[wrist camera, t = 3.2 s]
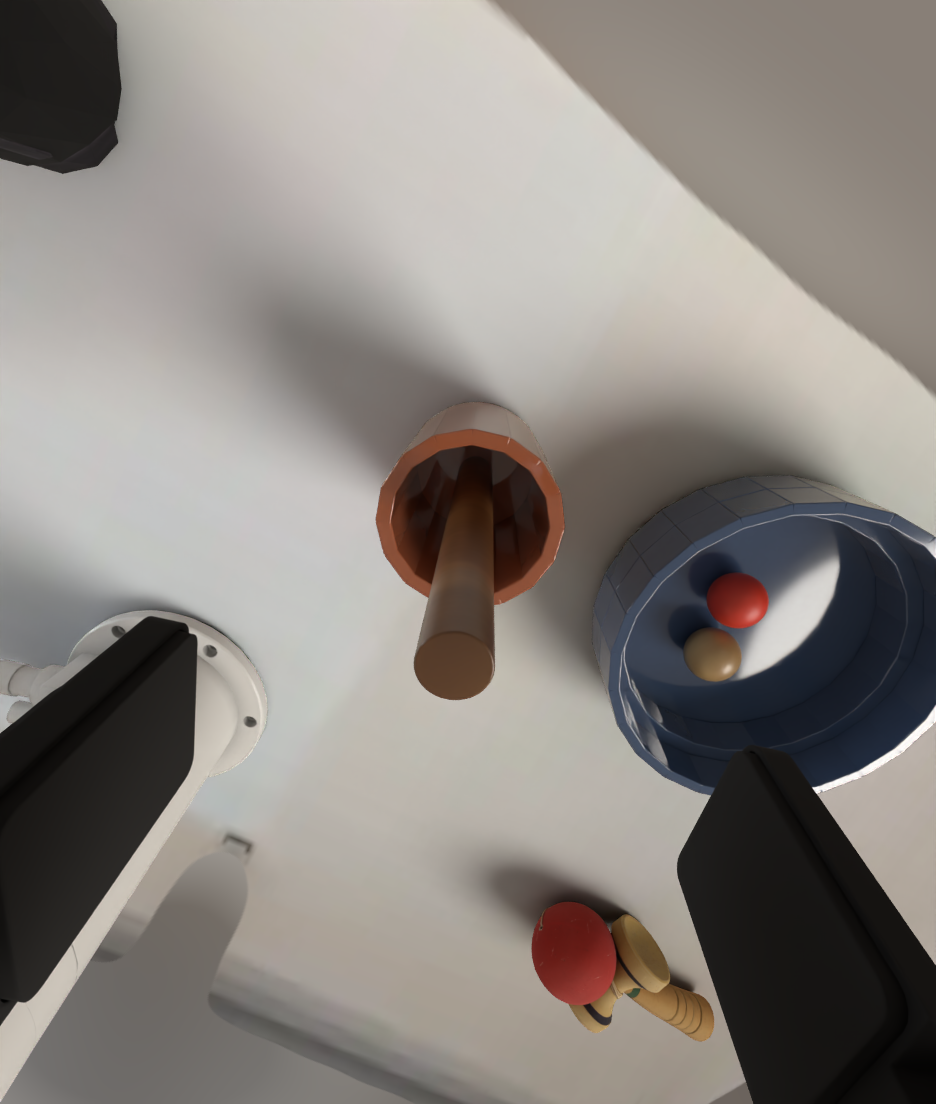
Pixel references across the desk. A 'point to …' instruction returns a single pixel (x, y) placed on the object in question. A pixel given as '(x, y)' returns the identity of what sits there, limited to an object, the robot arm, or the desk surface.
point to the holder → (428, 484)
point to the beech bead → (712, 654)
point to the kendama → (611, 970)
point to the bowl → (773, 632)
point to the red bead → (737, 600)
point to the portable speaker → (58, 83)
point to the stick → (462, 593)
